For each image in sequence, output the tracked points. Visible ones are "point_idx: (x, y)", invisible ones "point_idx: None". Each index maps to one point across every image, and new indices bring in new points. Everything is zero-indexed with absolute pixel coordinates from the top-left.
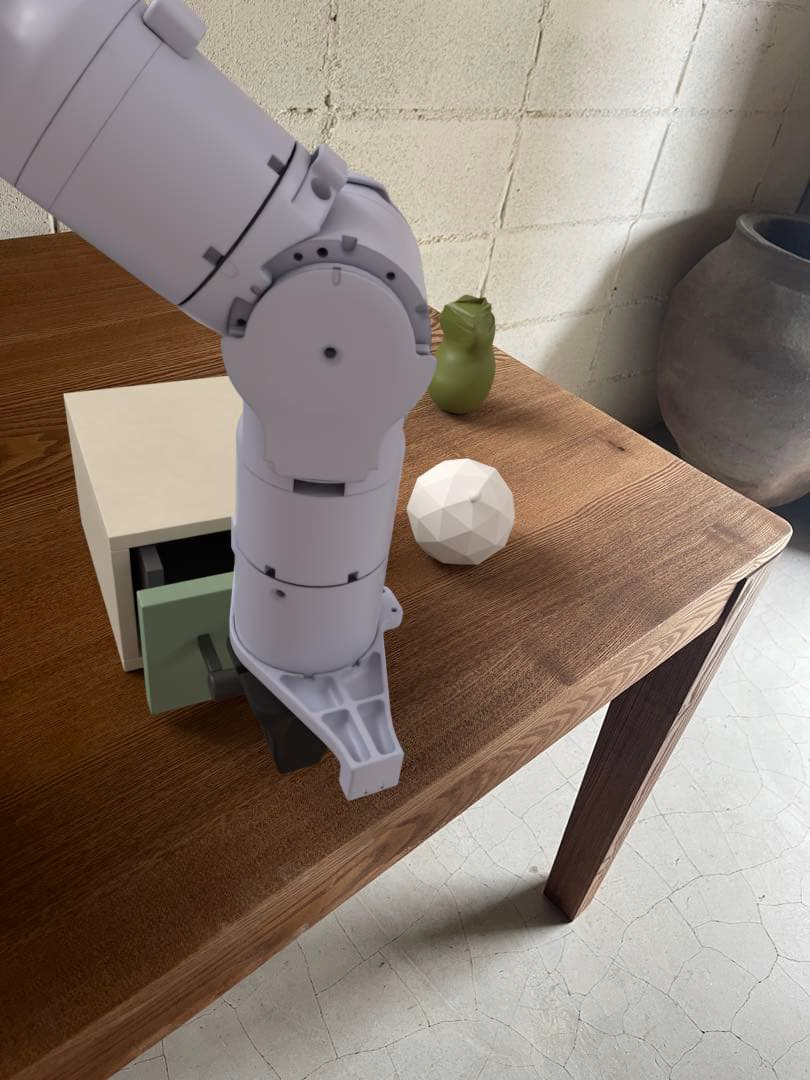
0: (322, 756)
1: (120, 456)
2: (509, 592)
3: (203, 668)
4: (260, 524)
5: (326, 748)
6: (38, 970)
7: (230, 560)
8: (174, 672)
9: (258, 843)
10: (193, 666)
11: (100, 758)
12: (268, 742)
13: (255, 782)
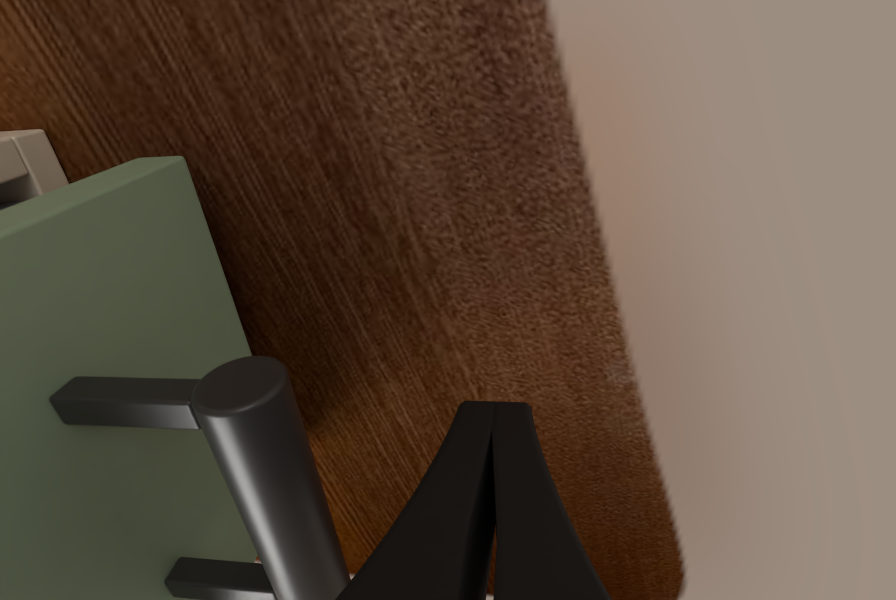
0: (532, 418)
1: None
2: None
3: (228, 490)
4: None
5: (537, 440)
6: None
7: None
8: (241, 536)
9: (553, 393)
10: (227, 513)
11: (349, 510)
12: (491, 555)
13: (439, 366)
